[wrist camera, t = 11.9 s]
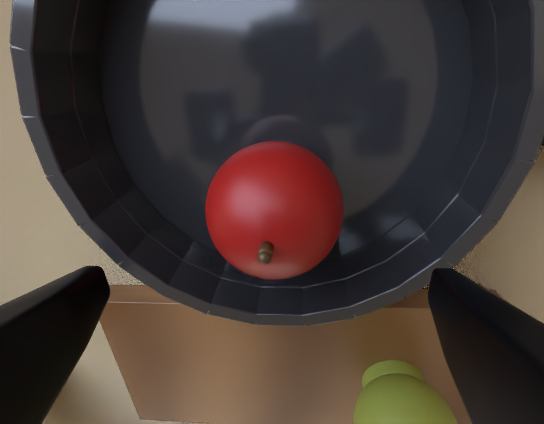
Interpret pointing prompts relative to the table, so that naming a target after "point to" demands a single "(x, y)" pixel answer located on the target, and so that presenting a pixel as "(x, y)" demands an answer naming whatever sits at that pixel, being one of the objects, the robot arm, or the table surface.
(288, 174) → the apple
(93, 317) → the robot arm
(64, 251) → the table surface
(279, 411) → the cutting board
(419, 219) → the pan
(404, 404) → the pear
